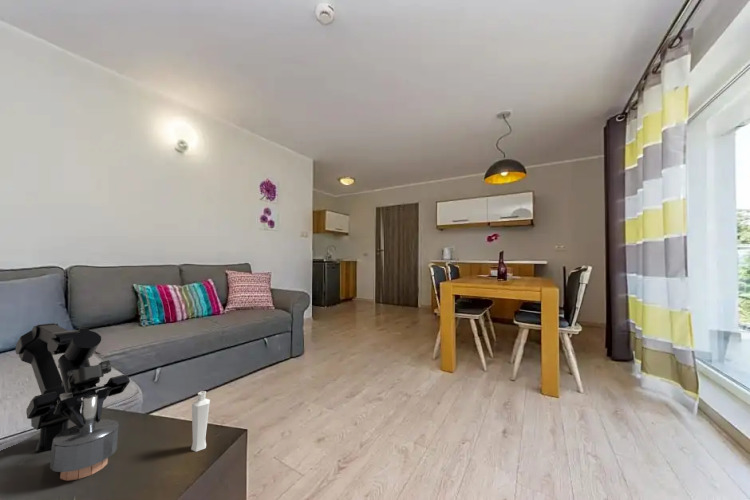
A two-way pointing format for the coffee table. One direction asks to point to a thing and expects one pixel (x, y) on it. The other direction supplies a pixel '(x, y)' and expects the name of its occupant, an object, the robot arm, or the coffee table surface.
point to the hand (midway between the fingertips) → (90, 424)
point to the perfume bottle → (200, 421)
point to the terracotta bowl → (83, 471)
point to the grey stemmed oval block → (84, 441)
